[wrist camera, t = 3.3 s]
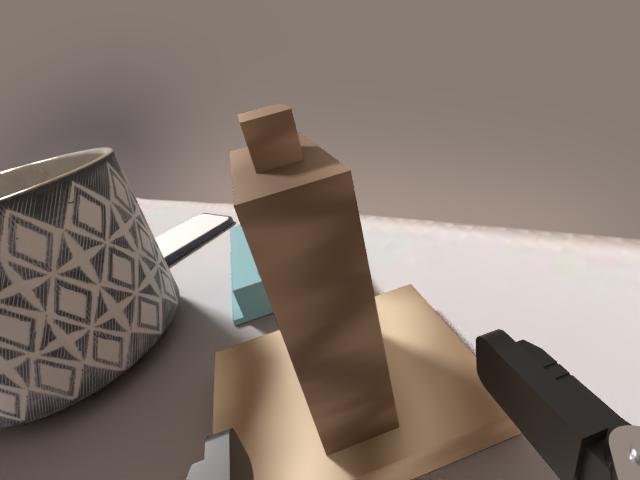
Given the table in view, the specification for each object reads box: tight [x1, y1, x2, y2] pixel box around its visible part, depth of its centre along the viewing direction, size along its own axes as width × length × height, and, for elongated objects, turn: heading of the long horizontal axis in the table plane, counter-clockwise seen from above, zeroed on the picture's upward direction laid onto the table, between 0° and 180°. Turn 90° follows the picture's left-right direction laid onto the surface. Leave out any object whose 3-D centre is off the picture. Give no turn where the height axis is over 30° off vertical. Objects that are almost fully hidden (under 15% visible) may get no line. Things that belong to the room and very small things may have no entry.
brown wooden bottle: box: [230, 103, 399, 456], centre depth 18 cm, size 4×9×16 cm, turn 14°
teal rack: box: [230, 225, 273, 326], centre depth 38 cm, size 12×14×4 cm
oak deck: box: [212, 284, 521, 480], centre depth 22 cm, size 16×12×2 cm
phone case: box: [155, 213, 233, 266], centre depth 51 cm, size 9×2×16 cm
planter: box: [0, 148, 180, 429], centre depth 30 cm, size 19×19×16 cm
